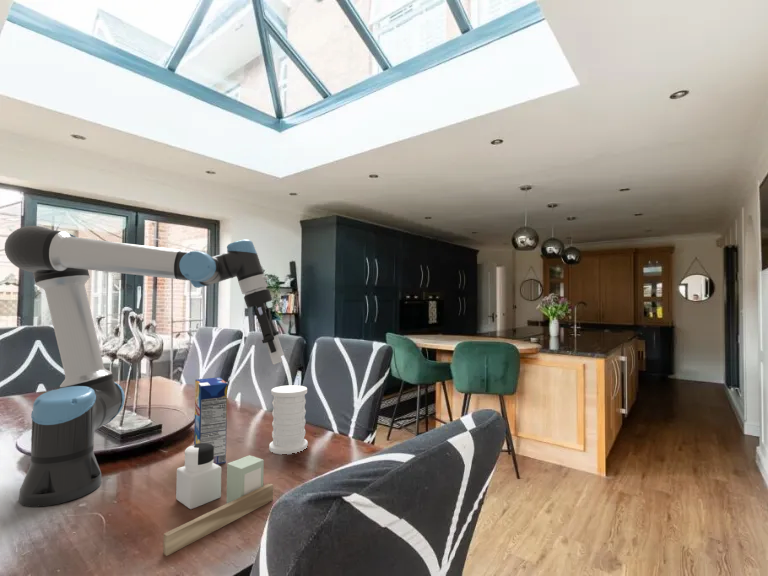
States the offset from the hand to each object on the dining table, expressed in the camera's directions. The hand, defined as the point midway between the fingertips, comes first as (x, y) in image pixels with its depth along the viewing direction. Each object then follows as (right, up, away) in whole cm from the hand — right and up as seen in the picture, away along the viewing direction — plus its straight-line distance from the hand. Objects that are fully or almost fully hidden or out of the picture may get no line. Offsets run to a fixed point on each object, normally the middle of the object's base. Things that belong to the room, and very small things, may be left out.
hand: (278, 359), depth 119 cm
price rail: (-1, -27, -38) cm, 46 cm away
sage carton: (0, -27, -29) cm, 40 cm away
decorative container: (+2, -28, +5) cm, 29 cm away
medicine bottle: (-11, -27, -28) cm, 40 cm away
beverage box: (-19, -28, -5) cm, 34 cm away
